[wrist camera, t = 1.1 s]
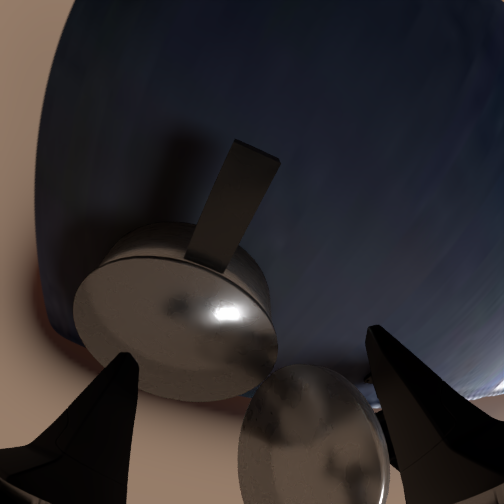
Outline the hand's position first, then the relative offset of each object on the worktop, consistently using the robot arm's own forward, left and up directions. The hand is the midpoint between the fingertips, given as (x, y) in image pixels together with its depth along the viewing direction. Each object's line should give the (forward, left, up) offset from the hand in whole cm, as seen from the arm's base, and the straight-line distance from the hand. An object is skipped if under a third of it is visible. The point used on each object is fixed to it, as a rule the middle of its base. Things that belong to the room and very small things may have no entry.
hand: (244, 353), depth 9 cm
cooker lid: (-9, +12, +1) cm, 15 cm away
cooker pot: (+2, +8, -14) cm, 16 cm away
